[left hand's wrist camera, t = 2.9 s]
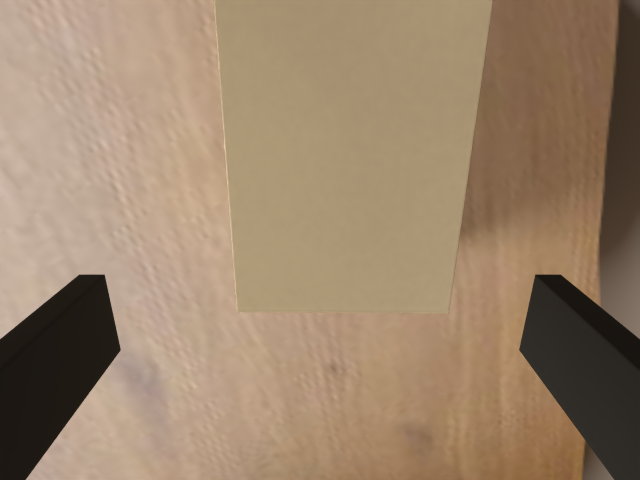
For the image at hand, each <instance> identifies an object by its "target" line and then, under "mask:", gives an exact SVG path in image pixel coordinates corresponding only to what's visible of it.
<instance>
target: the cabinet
mask: <svg viewBox="0 0 640 480" xmlns="http://www.w3.org/2000/svg"><path fill="white" fill-rule="evenodd" d="M492 5H493V0H214V9H215V23H216V36H217V50H218V63H219V77H220V90H221V104H222V117H223V130H224V144H225V157H226V171H227V184H228V198H229V211H230V225H231V238H232V252H233V265H234V279H235V292H236V306H237V312H287V313H433V314H448V313H449V308H450V301H451V294H452V287H453V280H454V273H455V266H456V259H457V252H458V245H459V238H460V231H461V224H462V217H463V210H464V203H465V196H466V189H467V182H468V174H469V167H470V160H471V153H472V146H473V139H474V132H475V125H476V118H477V111H478V104H479V97H480V90H481V83H482V76H483V69H484V62H485V55H486V48H487V41H488V34H489V27H490V20H491V12H492Z"/></svg>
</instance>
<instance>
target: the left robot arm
mask: <svg viewBox="0 0 640 480" xmlns="http://www.w3.org/2000/svg"><path fill="white" fill-rule="evenodd" d="M120 350H121V349H120V344H119V340H118V335H117V330H116V326H115V321H114V316H113V312H112V307H111V302H110V298H109V293H108V288H107V284H106V279H105V275H78V276H77V277H76V278H75V279H74V280H72V281H71V282H70V283H69V284H67V285H66V286H65V287H64V288H63V289H61V290H60V291H59V292H58V293H56V294H55V295H54V296H53V297H51V298H50V299H49V300H48V301H47V302H45V303H44V304H43V305H42V306H40V307H39V308H38V309H37V310H36V311H34V312H33V313H32V314H31V315H29V316H28V317H27V318H26V319H25V320H23V321H22V322H21V323H20V324H18V325H17V326H16V327H15V328H14V329H12V330H11V331H10V332H9V333H7V334H6V335H5V336H4V337H2V338H1V339H0V480H26V478H27V477H28V476H29V474H30V473H31V472H32V470H33V469H34V468H35V466H36V465H37V463H38V462H39V461H40V459H41V458H42V457H43V455H44V454H45V453H46V451H47V450H48V448H49V447H50V446H51V444H52V443H53V442H54V440H55V439H56V438H57V436H58V435H59V433H60V432H61V431H62V429H63V428H64V427H65V425H66V424H67V423H68V421H69V420H70V418H71V417H72V416H73V414H74V413H75V412H76V410H77V409H78V408H79V406H80V405H81V403H82V402H83V401H84V399H85V398H86V397H87V395H88V394H89V393H90V391H91V390H92V388H93V387H94V386H95V384H96V383H97V382H98V380H99V379H100V378H101V376H102V375H103V373H104V372H105V371H106V369H107V368H108V367H109V365H110V364H111V363H112V361H113V360H114V358H115V357H116V356H117V354H118V353H119V352H120ZM519 350H520V352H521V353H522V354H523V356H524V357H525V358H526V360H527V361H528V363H529V364H530V365H531V367H532V368H533V369H534V371H535V372H536V373H537V375H538V376H539V378H540V379H541V380H542V382H543V383H544V384H545V386H546V387H547V388H548V390H549V391H550V393H551V394H552V395H553V397H554V398H555V399H556V401H557V402H558V403H559V405H560V406H561V408H562V409H563V410H564V412H565V413H566V414H567V416H568V417H569V418H570V420H571V421H572V423H573V424H574V425H575V427H576V428H577V429H578V431H579V432H580V433H581V435H582V436H583V438H584V439H585V440H586V442H587V443H588V444H589V446H590V447H591V448H592V450H593V451H594V452H595V454H596V455H597V457H598V458H599V459H600V461H601V462H602V463H603V465H604V466H605V467H606V469H607V470H608V472H609V473H610V474H611V476H612V477H613V478H614V480H640V339H639V338H637V337H636V336H635V335H634V334H633V333H631V332H630V331H629V330H628V329H626V328H625V327H624V326H623V325H622V324H620V323H619V322H618V321H617V320H615V319H614V318H613V317H612V316H611V315H609V314H608V313H607V312H606V311H604V310H603V309H602V308H601V307H600V306H598V305H597V304H596V303H595V302H593V301H592V300H591V299H590V298H589V297H587V296H586V295H585V294H584V293H582V292H581V291H580V290H579V289H577V288H576V287H575V286H574V285H573V284H571V283H570V282H569V281H568V280H566V279H565V278H564V277H563V276H562V275H535V279H534V284H533V288H532V293H531V298H530V302H529V307H528V312H527V316H526V321H525V326H524V330H523V335H522V340H521V344H520V349H519Z"/></svg>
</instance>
